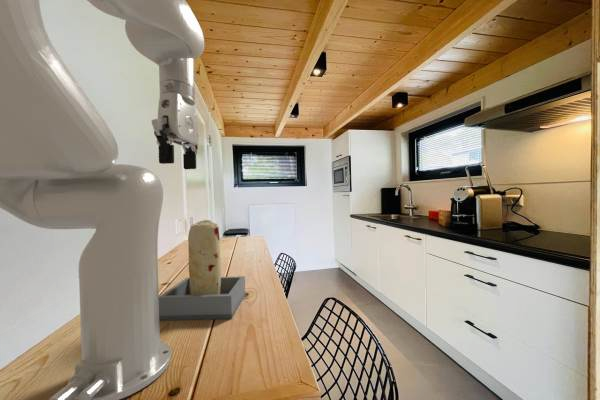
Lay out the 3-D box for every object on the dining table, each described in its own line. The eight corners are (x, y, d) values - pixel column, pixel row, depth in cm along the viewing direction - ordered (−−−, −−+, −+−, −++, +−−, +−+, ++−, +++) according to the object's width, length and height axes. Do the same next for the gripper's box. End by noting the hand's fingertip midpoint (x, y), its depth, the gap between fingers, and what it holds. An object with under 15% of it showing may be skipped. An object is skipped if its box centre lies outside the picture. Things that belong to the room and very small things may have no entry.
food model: (228, 303, 57) (226, 220, 57) (201, 314, 52) (198, 223, 52) (210, 293, 64) (208, 218, 64) (184, 301, 59) (182, 220, 59)
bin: (231, 318, 52) (231, 295, 52) (158, 320, 52) (157, 297, 52) (245, 294, 65) (244, 276, 65) (186, 295, 65) (186, 277, 65)
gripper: (170, 75, 48) (172, 160, 48) (208, 108, 66) (210, 170, 66) (135, 78, 49) (137, 161, 49) (182, 109, 66) (184, 171, 66)
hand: (179, 166), depth 57 cm, fingers open, 9 cm apart
